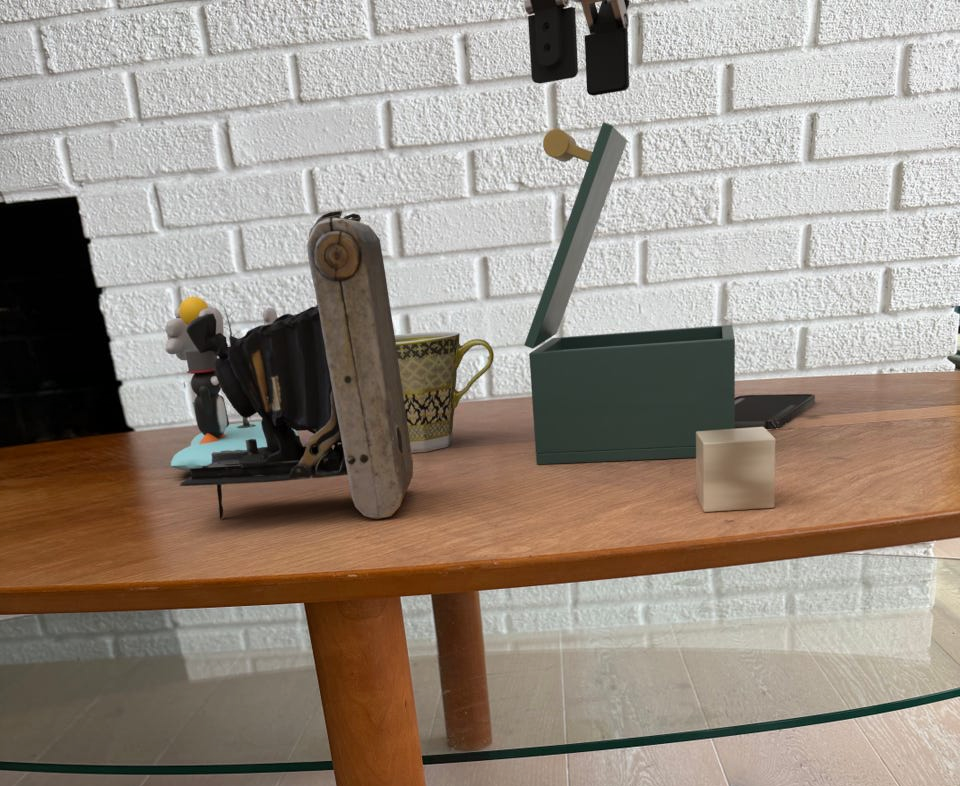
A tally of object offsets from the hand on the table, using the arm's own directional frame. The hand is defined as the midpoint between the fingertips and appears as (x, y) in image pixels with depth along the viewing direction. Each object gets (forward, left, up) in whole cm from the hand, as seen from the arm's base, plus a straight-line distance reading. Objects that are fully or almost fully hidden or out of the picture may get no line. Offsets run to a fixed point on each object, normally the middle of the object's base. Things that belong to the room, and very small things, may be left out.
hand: (582, 86), depth 72 cm
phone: (-15, -17, -28) cm, 36 cm away
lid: (+1, -7, -10) cm, 12 cm away
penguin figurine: (+34, -13, -27) cm, 46 cm away
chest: (-4, -6, -27) cm, 28 cm away
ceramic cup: (+15, -13, -27) cm, 34 cm away
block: (-9, +16, -27) cm, 32 cm away
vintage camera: (+21, +11, -27) cm, 36 cm away
